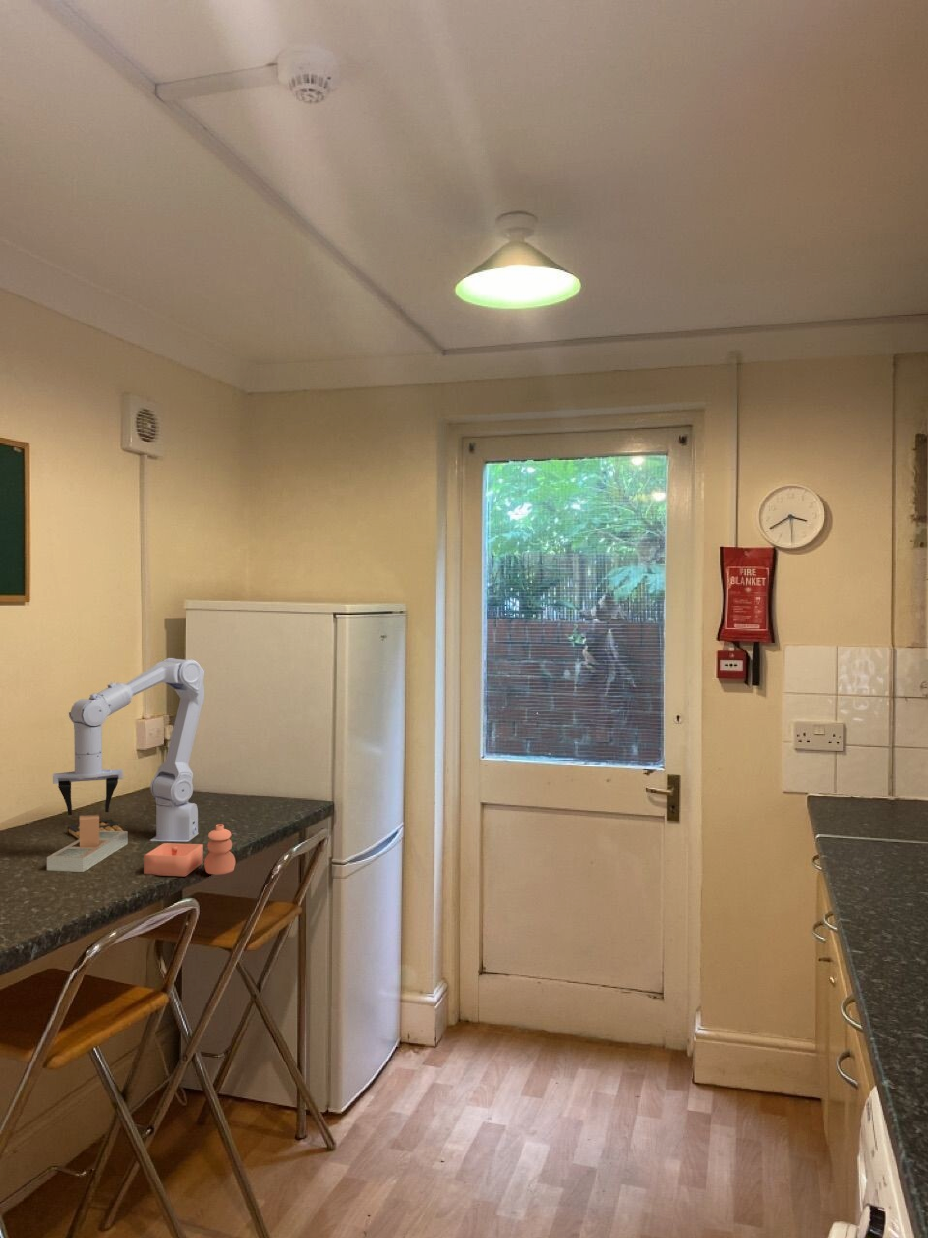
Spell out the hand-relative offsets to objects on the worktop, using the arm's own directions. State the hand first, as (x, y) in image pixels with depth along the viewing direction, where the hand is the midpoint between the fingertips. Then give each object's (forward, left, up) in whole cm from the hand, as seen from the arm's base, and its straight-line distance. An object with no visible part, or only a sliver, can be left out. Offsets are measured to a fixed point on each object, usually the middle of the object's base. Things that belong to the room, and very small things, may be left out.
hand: (88, 812), depth 203 cm
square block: (0, +1, -10) cm, 10 cm away
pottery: (-27, +7, -10) cm, 30 cm away
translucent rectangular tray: (0, +1, -10) cm, 10 cm away
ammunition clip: (+10, -21, -9) cm, 25 cm away
